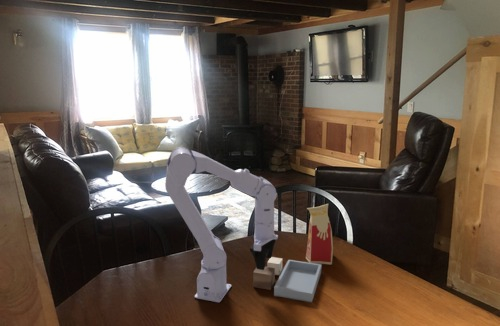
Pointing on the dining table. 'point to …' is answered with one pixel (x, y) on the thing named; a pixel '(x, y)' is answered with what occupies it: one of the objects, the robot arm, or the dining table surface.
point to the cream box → (275, 264)
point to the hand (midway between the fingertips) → (264, 263)
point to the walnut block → (264, 278)
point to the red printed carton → (319, 236)
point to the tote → (298, 281)
